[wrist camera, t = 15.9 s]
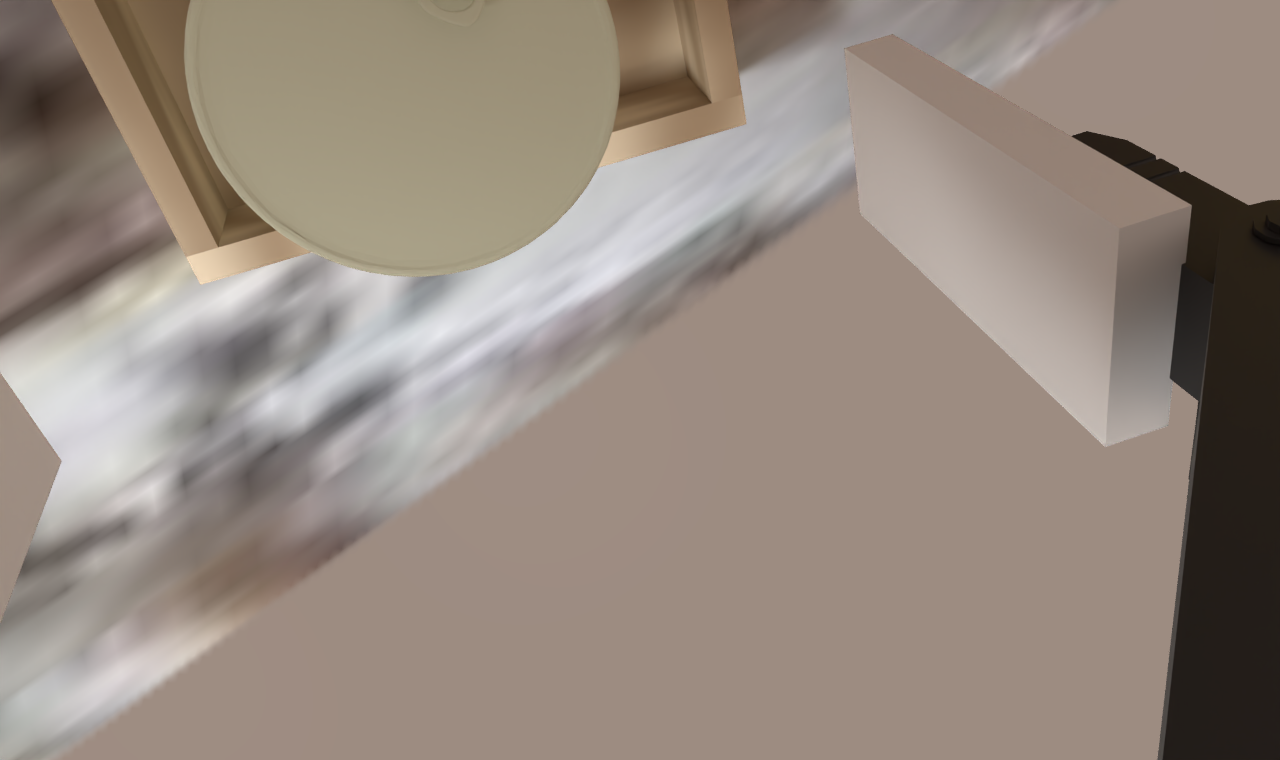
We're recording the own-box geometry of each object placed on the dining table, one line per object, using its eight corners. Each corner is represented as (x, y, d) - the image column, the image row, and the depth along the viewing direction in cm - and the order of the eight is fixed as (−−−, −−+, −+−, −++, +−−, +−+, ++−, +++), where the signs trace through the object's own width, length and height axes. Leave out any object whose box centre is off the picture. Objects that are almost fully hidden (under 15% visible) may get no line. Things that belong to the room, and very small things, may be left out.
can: (591, -122, 31) (693, -46, 22) (496, 157, 35) (546, 329, 25) (275, -255, 28) (226, -238, 18) (210, 70, 32) (141, 230, 22)
